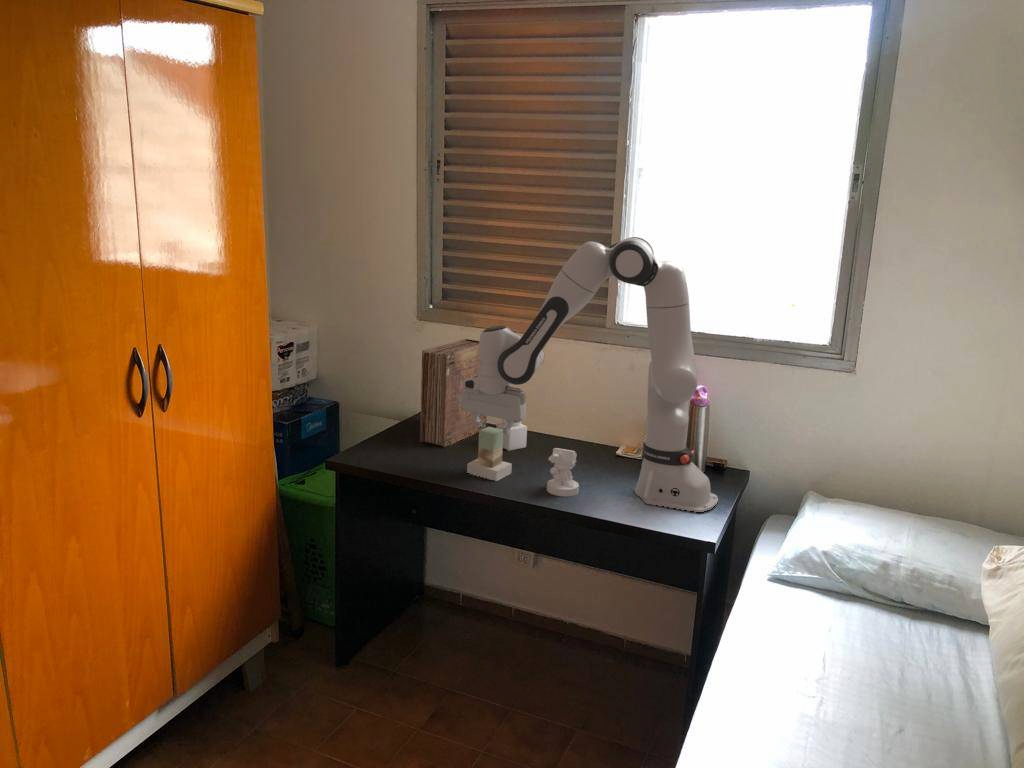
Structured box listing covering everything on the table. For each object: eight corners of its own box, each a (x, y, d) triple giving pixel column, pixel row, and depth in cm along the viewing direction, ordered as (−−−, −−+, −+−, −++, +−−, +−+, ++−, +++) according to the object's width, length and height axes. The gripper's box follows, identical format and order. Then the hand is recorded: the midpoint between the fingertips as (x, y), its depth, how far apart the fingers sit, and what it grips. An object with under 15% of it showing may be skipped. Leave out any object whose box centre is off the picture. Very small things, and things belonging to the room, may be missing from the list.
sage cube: (502, 446, 233) (503, 429, 232) (493, 451, 229) (493, 434, 227) (488, 443, 235) (488, 426, 234) (478, 447, 231) (479, 430, 230)
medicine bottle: (512, 441, 264) (514, 405, 261) (526, 447, 258) (528, 411, 255) (495, 444, 259) (496, 408, 256) (508, 451, 254) (510, 414, 251)
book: (443, 448, 253) (446, 354, 246) (419, 443, 258) (421, 350, 250) (486, 429, 275) (489, 342, 267) (463, 424, 279) (466, 338, 272)
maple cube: (501, 463, 234) (502, 446, 233) (492, 467, 230) (493, 451, 229) (487, 459, 237) (488, 443, 235) (477, 464, 232) (478, 447, 231)
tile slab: (511, 473, 235) (511, 463, 234) (496, 481, 228) (496, 471, 227) (482, 465, 240) (482, 456, 239) (467, 473, 233) (467, 463, 232)
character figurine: (542, 493, 221) (545, 451, 218) (553, 481, 230) (555, 441, 227) (573, 498, 219) (576, 456, 216) (583, 486, 227) (585, 446, 224)
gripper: (531, 387, 225) (529, 434, 228) (470, 376, 235) (469, 422, 239) (519, 391, 220) (518, 440, 223) (457, 380, 230) (457, 427, 233)
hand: (492, 430), depth 231 cm, fingers open, 8 cm apart
